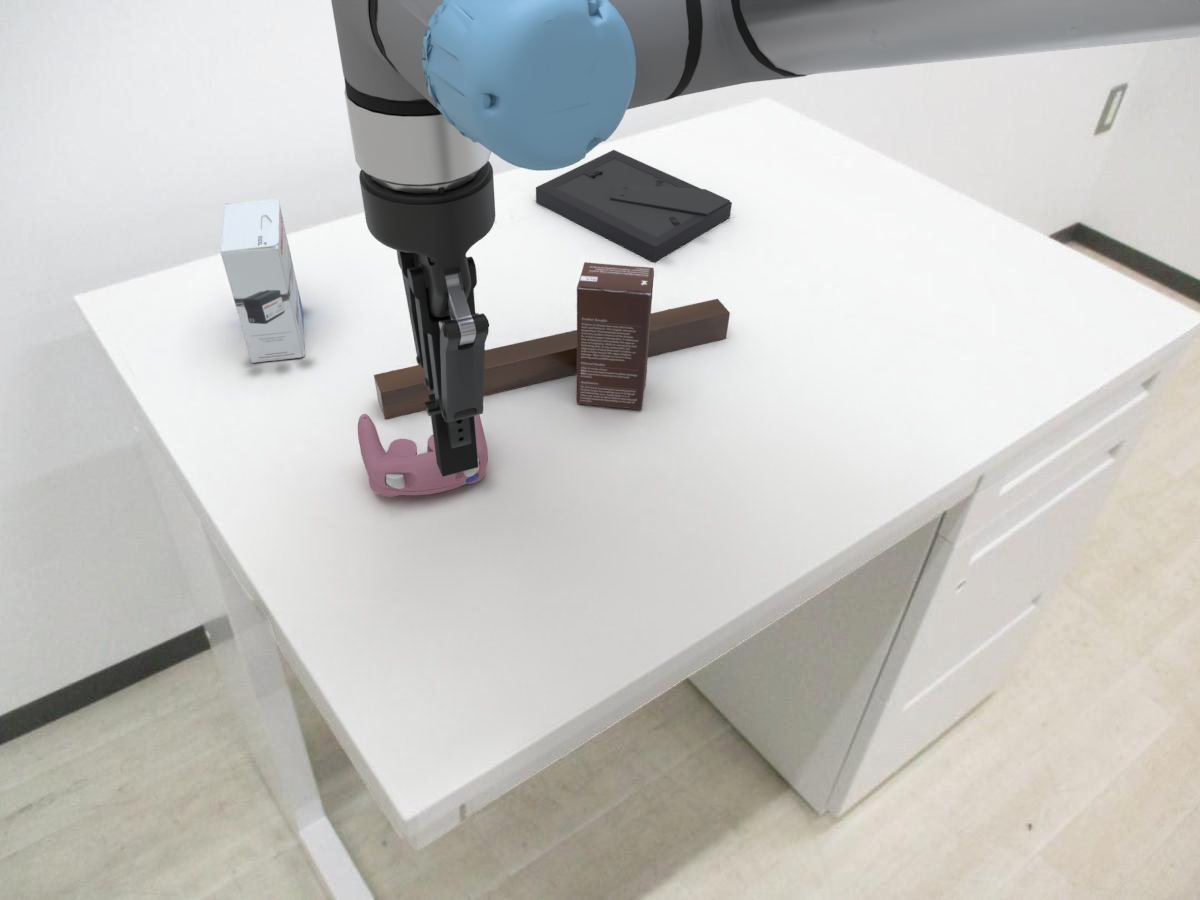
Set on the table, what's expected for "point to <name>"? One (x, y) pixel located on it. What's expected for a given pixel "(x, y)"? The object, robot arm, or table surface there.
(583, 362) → the box
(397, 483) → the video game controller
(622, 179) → the picture frame
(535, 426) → the table surface
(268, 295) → the ink box
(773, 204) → the table surface
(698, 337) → the straight edge
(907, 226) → the table surface
